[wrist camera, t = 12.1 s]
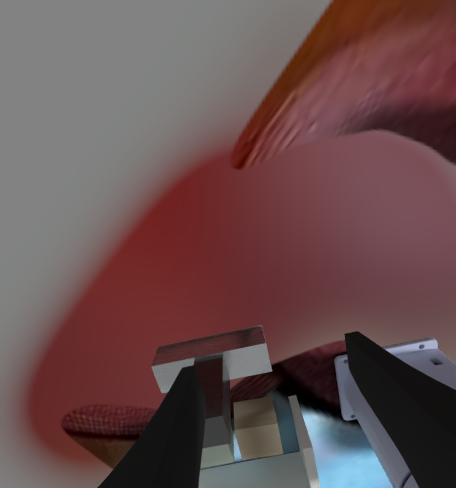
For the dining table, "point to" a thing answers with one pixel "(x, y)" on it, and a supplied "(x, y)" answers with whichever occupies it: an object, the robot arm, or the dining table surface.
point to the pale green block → (218, 454)
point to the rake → (215, 372)
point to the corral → (270, 466)
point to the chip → (257, 428)
